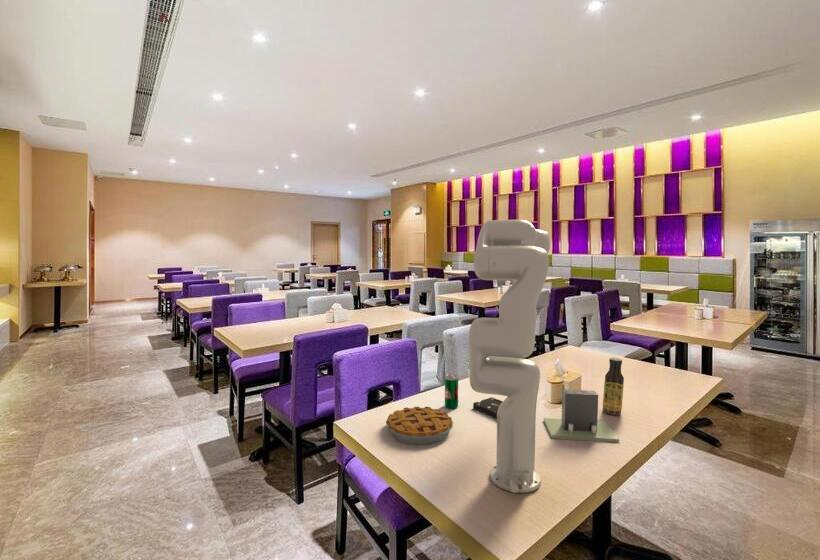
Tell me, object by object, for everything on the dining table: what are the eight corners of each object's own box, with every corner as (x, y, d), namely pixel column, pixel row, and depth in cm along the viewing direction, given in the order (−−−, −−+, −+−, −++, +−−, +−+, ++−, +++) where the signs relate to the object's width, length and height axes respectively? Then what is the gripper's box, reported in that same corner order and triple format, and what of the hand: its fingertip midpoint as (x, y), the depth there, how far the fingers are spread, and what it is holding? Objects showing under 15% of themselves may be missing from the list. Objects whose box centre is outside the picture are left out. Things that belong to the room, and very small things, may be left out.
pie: (435, 413, 146) (435, 400, 146) (465, 439, 126) (465, 424, 125) (377, 423, 138) (377, 409, 138) (399, 453, 118) (399, 436, 117)
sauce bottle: (602, 414, 144) (603, 359, 143) (602, 408, 150) (604, 355, 148) (622, 417, 141) (624, 362, 140) (622, 411, 147) (624, 357, 145)
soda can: (442, 405, 153) (442, 374, 152) (454, 403, 155) (454, 372, 154) (448, 410, 148) (448, 378, 148) (460, 408, 150) (460, 376, 149)
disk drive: (472, 410, 150) (503, 423, 138) (472, 402, 150) (503, 415, 138) (491, 403, 156) (522, 415, 144) (491, 396, 156) (522, 408, 144)
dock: (619, 442, 123) (619, 431, 123) (551, 438, 126) (551, 427, 126) (604, 424, 136) (605, 414, 136) (543, 420, 139) (543, 411, 139)
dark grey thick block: (597, 431, 128) (598, 395, 127) (564, 430, 130) (565, 393, 129) (593, 426, 132) (594, 390, 131) (561, 424, 134) (562, 389, 133)
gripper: (536, 273, 130) (535, 325, 131) (528, 270, 147) (527, 317, 148) (513, 273, 131) (512, 325, 132) (507, 270, 148) (506, 316, 149)
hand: (520, 320), depth 140 cm, fingers open, 9 cm apart
